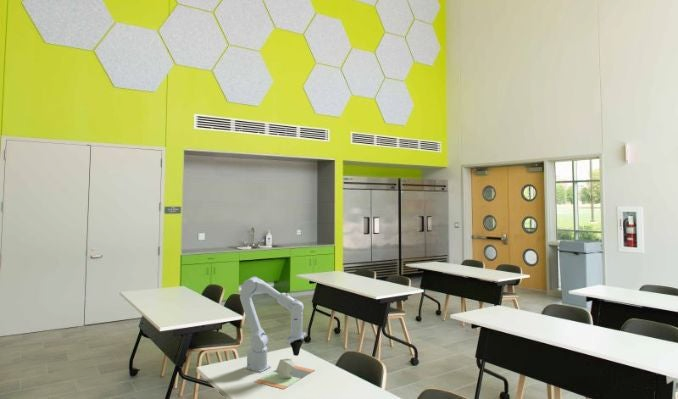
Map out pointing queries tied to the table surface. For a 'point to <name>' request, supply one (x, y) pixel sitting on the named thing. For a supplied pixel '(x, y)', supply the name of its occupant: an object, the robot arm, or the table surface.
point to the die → (285, 368)
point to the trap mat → (275, 380)
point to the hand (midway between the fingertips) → (295, 355)
